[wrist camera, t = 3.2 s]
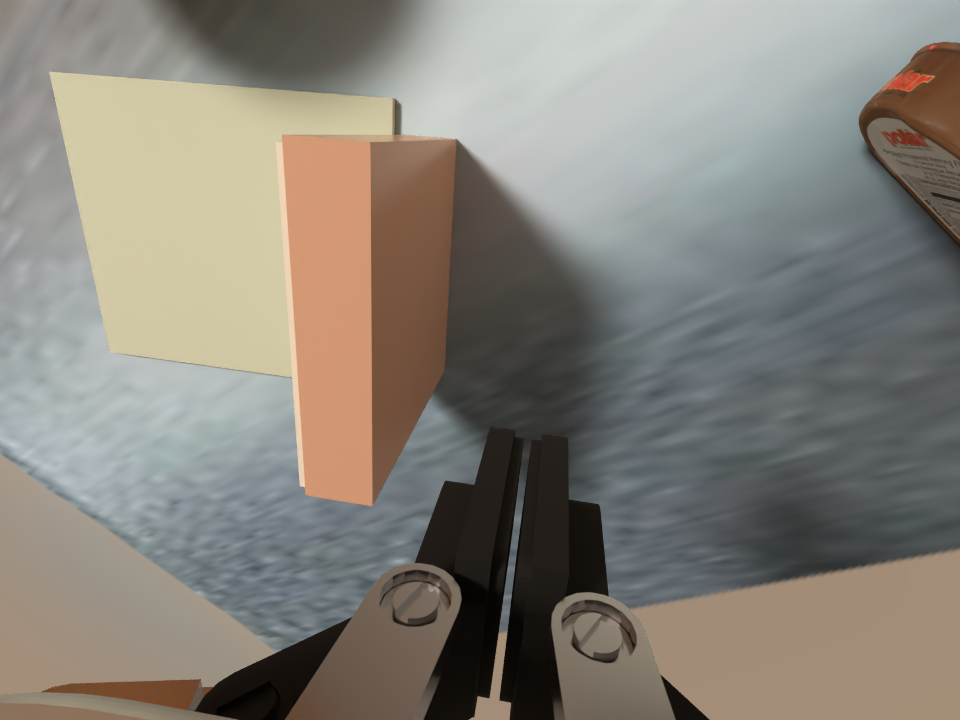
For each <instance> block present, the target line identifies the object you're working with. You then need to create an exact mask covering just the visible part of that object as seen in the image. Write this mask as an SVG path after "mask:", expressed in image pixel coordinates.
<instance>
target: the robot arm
mask: <svg viewBox="0 0 960 720" xmlns="http://www.w3.org/2000/svg"><path fill="white" fill-rule="evenodd" d="M514 436H515V430H509V429H501V428H494V427H490V429H489V433H488V437H487V441H486V444H485V448H484V452H483V455H482V459H481V463H480V466H479V470H478V474H477V478H476V481H475V485H471V484H464V483H458V482H451V481H445V482H444V484H443V487H442V490H441V492H440V495H439V498H438V501H437V503H436V506H435V509H434V512H433V514H432V517H431V520H430V523H429V525H428V528H427V531H426V534H425V536H424V539H423V542H422V545H421V547H420V550H419V553H418V556H417V558H416V561H415V563H414V564H405V565H401V566H398V567H395V568H393V569H391V570H389V571H388V572H386V573H384V574H383V575H382V576H381V577H380V578H379V579H378V580H377V581H376V582H375V583H374V585H373V586H372V588H371V589H370V591H369V592H368V594H367V595H366V597H365V598H364V600H363V601H362V603H361V604H360V606H359V608H358V609H357V611H356V612H355V614H354V615H353V617H351V618H349V619H347V620H345V621H343V622H341V623H339V624H336V625H334V626H332V627H330V628H328V629H326V630H324V631H322V632H320V633H317V634H315V635H313V636H311V637H309V638H307V639H305V640H303V641H300V642H298V643H296V644H294V645H292V646H290V647H288V648H286V649H283V650H281V651H279V652H277V653H275V654H273V655H271V656H269V657H267V658H264V659H262V660H260V661H258V662H256V663H254V664H252V665H250V666H247V667H245V668H243V669H241V670H239V671H237V672H235V673H233V674H232V675H230V676H228V677H227V678H225V679H223V680H222V681H220V682H219V683H217V684H216V685H215V686H214V687H202V683H201V679H197V680H164V681H135V682H105V683H73V684H66V685H61V686H55V687H51V688H49V689H47V690H44V691H42V692H33V693H14V694H0V720H469V719H470V718H472V717H474V715H475V709H476V703H477V697H478V696H480V697H486V698H489V697H490V690H491V683H492V676H493V669H494V661H495V654H496V647H497V640H498V633H499V625H500V618H501V611H502V604H503V596H504V589H505V582H506V575H507V567H508V560H509V553H510V545H511V538H512V530H513V522H514V514H515V506H516V498H517V490H518V482H519V474H520V466H521V458H522V450H523V442H524V438H518V437H514ZM500 701H505V702H510V703H511V711H510V720H709V719H708V718H707V717H706V716H705V715H704V714H703V713H702V712H701V711H699V710H698V709H697V708H696V707H695V706H694V705H693V704H692V703H691V702H690V701H689V700H688V699H687V698H685V697H684V696H683V695H682V694H681V693H680V692H679V691H678V690H677V689H676V688H675V687H673V686H672V685H671V684H670V683H669V682H668V681H667V680H666V679H665V678H664V677H663V676H661V675H660V673H659V669H658V666H657V664H656V661H655V658H654V655H653V652H652V649H651V646H650V643H649V640H648V637H647V634H646V631H645V630H644V628H643V626H642V624H641V622H640V620H639V619H638V618H637V617H636V616H635V614H634V613H633V612H632V611H631V610H630V609H629V608H627V607H626V606H625V605H623V604H622V603H620V602H619V601H617V600H615V599H613V598H610V597H609V595H608V585H607V574H606V564H605V554H604V543H603V533H602V523H601V512H600V506H599V505H598V504H594V503H587V502H581V501H574V500H569V494H568V438H565V437H558V436H551V435H544V434H543V435H542V441H539V440H532V443H531V450H530V458H529V465H528V473H527V481H526V488H525V496H524V503H523V511H522V518H521V526H520V534H519V541H518V549H517V557H516V565H515V574H514V582H513V591H512V599H511V607H510V616H509V624H508V632H507V641H506V650H505V657H504V666H503V674H502V682H501V691H500Z"/></svg>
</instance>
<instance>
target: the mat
mask: <svg viewBox="0 0 960 720" xmlns="http://www.w3.org/2000/svg"><path fill="white" fill-rule="evenodd" d="M49 73H50V77H51V82H52V87H53V91H54V96H55V100H56V105H57V110H58V114H59V119H60V124H61V128H62V133H63V138H64V142H65V147H66V151H67V156H68V161H69V165H70V170H71V175H72V179H73V184H74V188H75V193H76V198H77V202H78V207H79V212H80V216H81V221H82V226H83V230H84V235H85V239H86V244H87V249H88V253H89V258H90V263H91V267H92V272H93V277H94V281H95V286H96V290H97V295H98V300H99V304H100V309H101V314H102V318H103V323H104V328H105V332H106V337H107V341H108V346H109V351H110V352H114V353H121V354H128V355H135V356H142V357H149V358H156V359H164V360H171V361H178V362H185V363H192V364H199V365H207V366H214V367H221V368H228V369H235V370H242V371H250V372H257V373H264V374H271V375H278V376H285V377H292V367H291V353H290V339H289V324H288V310H287V296H286V282H285V268H284V254H283V240H282V226H281V212H280V197H279V183H278V169H277V155H276V141H282V135H395V99H393V98H382V97H369V96H356V95H343V94H330V93H317V92H304V91H291V90H278V89H265V88H252V87H239V86H226V85H213V84H200V83H187V82H174V81H161V80H148V79H135V78H122V77H109V76H96V75H83V74H70V73H57V72H49Z"/></svg>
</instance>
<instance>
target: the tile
mask: <svg viewBox="0 0 960 720" xmlns="http://www.w3.org/2000/svg"><path fill="white" fill-rule="evenodd" d="M456 148H457V139H450V138H438V137H426V136H414V135H282V141H276V155H277V169H278V183H279V197H280V212H281V226H282V240H283V254H284V268H285V282H286V296H287V310H288V324H289V339H290V353H291V367H292V381H293V395H294V409H295V423H296V437H297V451H298V465H299V480H300V486H303V487H305V493H306V495H308V496H314V497H320V498H326V499H332V500H338V501H344V502H350V503H356V504H362V505H368V506H373V504H374V502H375V501H376V499H377V497H378V495H379V493H380V491H381V489H382V487H383V486H384V484H385V482H386V480H387V478H388V476H389V474H390V472H391V471H392V469H393V467H394V465H395V463H396V461H397V459H398V457H399V455H400V454H401V452H402V450H403V448H404V446H405V444H406V442H407V440H408V439H409V437H410V435H411V433H412V431H413V429H414V427H415V425H416V424H417V422H418V420H419V418H420V416H421V414H422V412H423V410H424V409H425V407H426V405H427V403H428V401H429V399H430V397H431V395H432V393H433V392H434V390H435V388H436V386H437V384H438V382H439V380H440V378H441V377H442V375H443V373H444V371H445V353H446V334H447V315H448V297H449V278H450V259H451V241H452V222H453V204H454V185H455V166H456Z"/></svg>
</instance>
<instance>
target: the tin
mask: <svg viewBox="0 0 960 720" xmlns="http://www.w3.org/2000/svg"><path fill="white" fill-rule="evenodd" d="M859 126H860V130H861V133H862V135H863V137H864V139H865V141H866V143H867V144H868V146H869V147H870V149H871V150H872V152H873V153H874V154H875V156H876V157H877V158H878V159H879V160H880V162H881V163H882V164H883V165H884V166H885V167H886V168H887V169H888V171H889V172H890V173H891V174H892V175H893V176H894V177H895V178H896V179H897V180H898V181H899V182H900V183H901V184H902V185H903V186H904V187H905V188H906V189H907V190H908V191H909V192H910V194H911V195H912V196H913V197H914V198H915V199H916V200H917V201H918V202H919V203H920V204H921V205H922V206H923V207H924V208H925V209H926V210H927V211H928V213H929V214H930V215H931V216H932V217H933V218H934V219H935V220H936V221H937V222H938V223H939V224H940V225H941V226H942V227H943V228H944V229H945V230H946V231H947V232H948V233H949V234H950V235H951V236H952V237H953V238H954V239H955V240H956V241H957V242H958V243H959V244H960V43H955V42H954V43H951V42H941V43H933V44H930V45H927V46H925V47H923V48H922V49H920V50H919V51H918V52H917V53H916V54H915V55H914V56H913V58H912V59H911V61H910V63H909V64H908V65H907V66H906V67H905V68H904V69H902V70H901V71H900V72H899V73H898V74H897V75H896V76H895V77H894V78H893V79H892V80H891V81H890V82H888V83H887V84H886V85H885V86H884V87H883V88H882V89H881V90H880V91H879V92H878V93H877V94H876V95H875V96H873V98H872V99H871V100H870V101H869V102H868V103H867V104H866V105H865V107H864V108H863V110H862V112H861V114H860V117H859Z"/></svg>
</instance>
